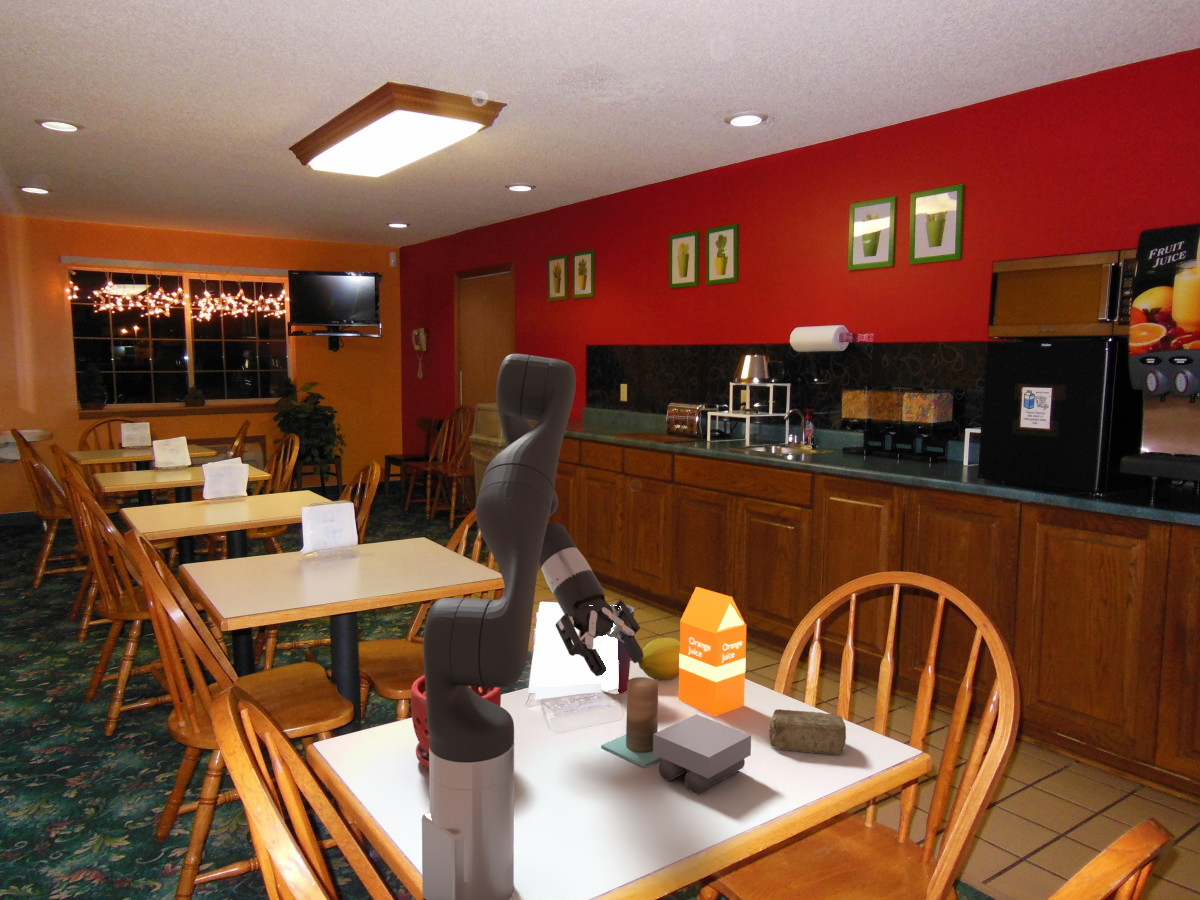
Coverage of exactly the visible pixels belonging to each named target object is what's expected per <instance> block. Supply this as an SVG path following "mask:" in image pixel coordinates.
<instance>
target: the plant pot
mask: <svg viewBox="0 0 1200 900" xmlns="http://www.w3.org/2000/svg"><path fill="white" fill-rule="evenodd" d="M470 688H471V689H472V690H473V691H474V692H475V693H476V694H478V695H479V696H481V697H482V698H484V699H486V700H488V701H490V702H492V703H494V704H496V705H499V706H501V703H502V702H501V701H502V687H501V688H500V687H480V688H481V689H482V691H479V687H478V686H470ZM489 690H490V692H488V691H489ZM424 693H426V687H425V674H423V675H421V676H420V677H418V678H417V679H416V680H415V681H414V682H413V684H412V685H411V689H410V706H411V707H410V708H411V709H410V711H411V720H412V725H413V729H414V730H413V731H414V734H415V737H416V738H417V742H418V743H417V744H416V747H415V757H416V759H417V760H418V762H420V764H421V765H422V766H424V767H425V768H427V769H429V732H428V726H427V707H426V695H424Z"/></svg>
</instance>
